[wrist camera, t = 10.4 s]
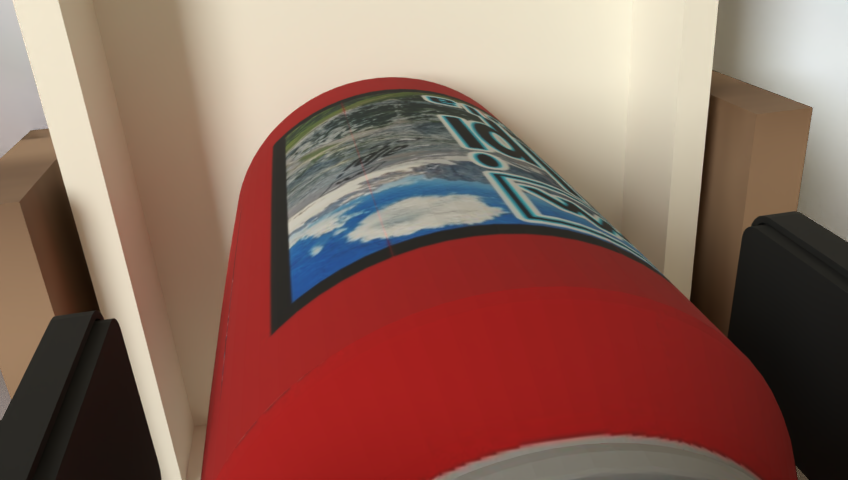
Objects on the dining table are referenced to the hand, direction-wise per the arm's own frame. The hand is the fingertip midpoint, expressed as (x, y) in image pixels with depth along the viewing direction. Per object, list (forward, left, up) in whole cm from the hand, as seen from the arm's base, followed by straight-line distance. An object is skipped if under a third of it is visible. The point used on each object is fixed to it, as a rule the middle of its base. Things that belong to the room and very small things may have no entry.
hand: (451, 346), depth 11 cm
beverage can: (+1, 0, -7) cm, 7 cm away
